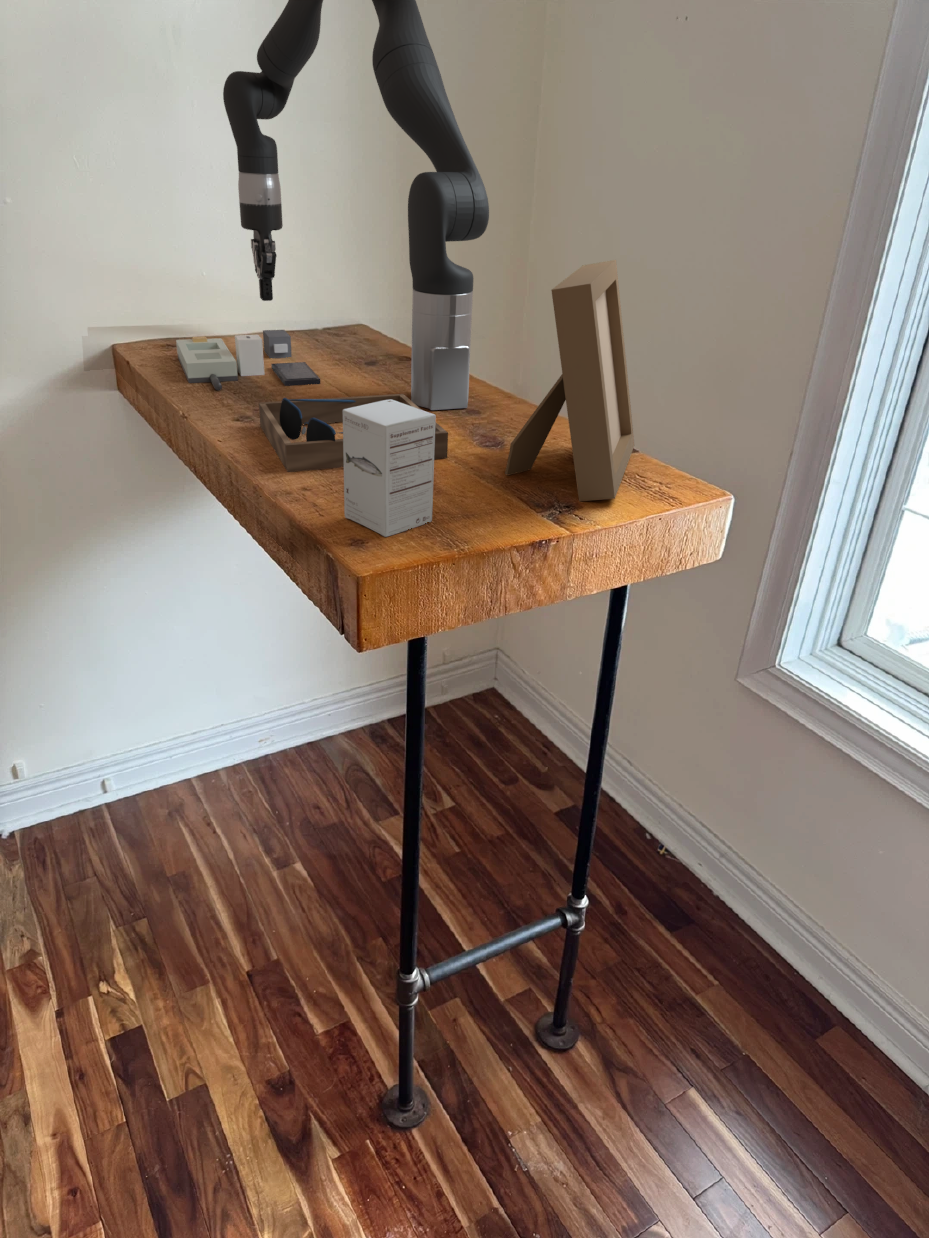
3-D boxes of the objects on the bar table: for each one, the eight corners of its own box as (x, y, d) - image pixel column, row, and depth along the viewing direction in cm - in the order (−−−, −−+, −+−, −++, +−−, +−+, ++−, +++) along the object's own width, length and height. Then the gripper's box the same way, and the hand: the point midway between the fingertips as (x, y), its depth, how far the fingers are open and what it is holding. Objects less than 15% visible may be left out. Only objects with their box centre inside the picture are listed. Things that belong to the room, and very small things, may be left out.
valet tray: (447, 458, 119) (448, 432, 118) (287, 472, 112) (286, 445, 110) (402, 416, 135) (403, 393, 133) (260, 426, 128) (258, 402, 126)
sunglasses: (275, 430, 126) (278, 394, 124) (366, 429, 134) (370, 396, 132) (329, 467, 114) (332, 429, 112) (425, 464, 122) (430, 428, 120)
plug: (292, 359, 165) (291, 337, 163) (270, 360, 163) (269, 338, 161) (285, 351, 170) (284, 329, 168) (264, 352, 169) (262, 330, 167)
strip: (243, 389, 144) (241, 366, 143) (193, 392, 142) (190, 368, 140) (222, 356, 164) (220, 335, 162) (177, 358, 161) (175, 336, 159)
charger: (264, 375, 153) (262, 339, 150) (241, 376, 152) (238, 340, 149) (260, 369, 157) (257, 334, 154) (237, 370, 155) (234, 335, 152)
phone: (320, 386, 150) (320, 378, 149) (285, 388, 148) (284, 380, 147) (305, 368, 160) (304, 361, 159) (271, 370, 158) (271, 363, 157)
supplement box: (342, 518, 100) (339, 408, 94) (392, 503, 105) (392, 397, 99) (384, 539, 96) (384, 425, 89) (434, 522, 100) (437, 412, 94)
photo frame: (633, 451, 125) (660, 263, 113) (613, 506, 107) (642, 288, 95) (531, 438, 128) (546, 254, 116) (494, 489, 110) (508, 276, 98)
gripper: (288, 204, 157) (293, 306, 166) (274, 197, 168) (279, 293, 176) (245, 204, 155) (252, 307, 163) (233, 196, 165) (241, 294, 174)
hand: (266, 300), depth 170 cm, fingers closed
